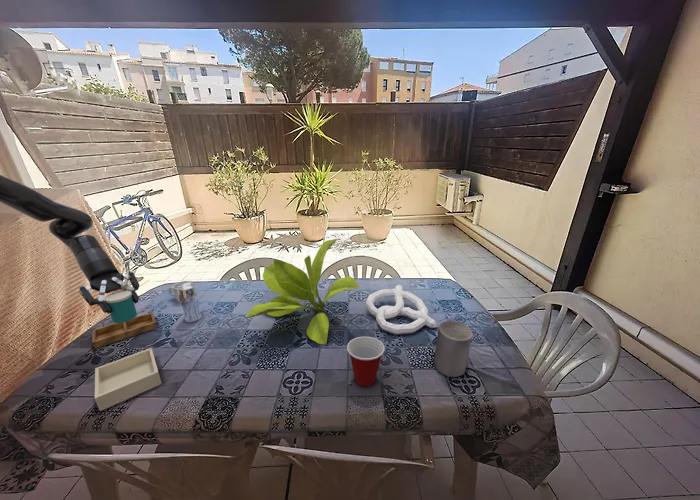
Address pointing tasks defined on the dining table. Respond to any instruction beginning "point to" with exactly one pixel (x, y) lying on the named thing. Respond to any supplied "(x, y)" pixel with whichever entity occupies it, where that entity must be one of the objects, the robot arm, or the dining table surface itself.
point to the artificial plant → (301, 291)
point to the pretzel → (399, 311)
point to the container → (121, 306)
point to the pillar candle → (452, 348)
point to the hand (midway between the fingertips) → (123, 307)
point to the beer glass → (189, 301)
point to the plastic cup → (365, 358)
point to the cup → (176, 289)
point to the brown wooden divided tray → (123, 330)
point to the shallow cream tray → (125, 378)
